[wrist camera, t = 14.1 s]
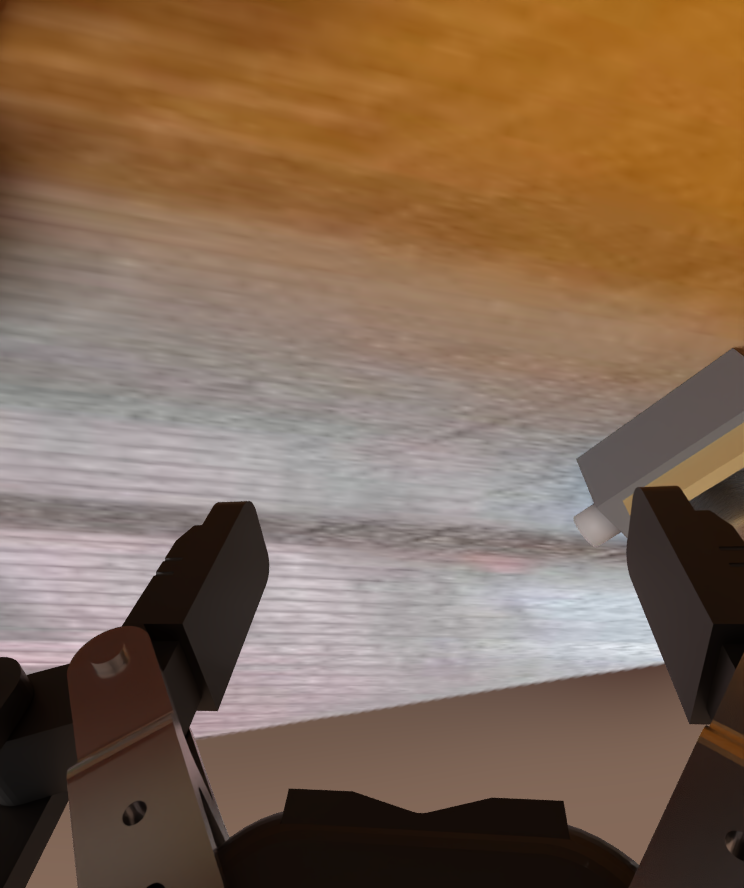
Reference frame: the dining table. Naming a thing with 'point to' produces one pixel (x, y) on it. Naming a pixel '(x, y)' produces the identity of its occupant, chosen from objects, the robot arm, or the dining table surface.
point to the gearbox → (668, 448)
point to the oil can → (725, 501)
